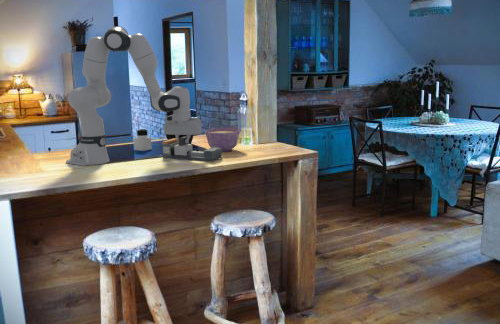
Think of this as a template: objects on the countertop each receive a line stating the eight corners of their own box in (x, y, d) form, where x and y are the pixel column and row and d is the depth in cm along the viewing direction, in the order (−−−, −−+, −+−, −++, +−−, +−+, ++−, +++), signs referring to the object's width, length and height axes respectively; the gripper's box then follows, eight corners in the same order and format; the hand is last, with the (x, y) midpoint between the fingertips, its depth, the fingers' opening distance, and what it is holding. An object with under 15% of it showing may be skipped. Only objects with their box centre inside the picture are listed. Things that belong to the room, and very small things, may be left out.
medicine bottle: (151, 149, 291) (150, 129, 288) (143, 151, 285) (142, 130, 282) (143, 148, 294) (141, 128, 292) (134, 150, 289) (133, 129, 286)
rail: (162, 157, 264) (161, 144, 263) (173, 154, 274) (172, 141, 272) (212, 161, 253) (211, 147, 251) (221, 157, 262) (220, 144, 260)
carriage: (174, 154, 263) (173, 138, 261) (181, 152, 269) (180, 136, 267) (186, 155, 260) (185, 138, 258) (192, 153, 267) (192, 136, 265)
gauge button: (162, 143, 262) (162, 141, 262) (173, 140, 272) (173, 138, 272) (167, 144, 261) (167, 141, 261) (178, 140, 271) (178, 138, 271)
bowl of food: (247, 150, 281) (246, 130, 278) (216, 155, 270) (216, 134, 267) (228, 146, 297) (228, 127, 294) (199, 149, 286) (198, 130, 284)
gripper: (202, 116, 261) (203, 142, 264) (166, 116, 266) (167, 141, 269) (199, 118, 255) (199, 144, 258) (162, 117, 260) (163, 143, 263)
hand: (183, 142), depth 264 cm, fingers open, 3 cm apart
